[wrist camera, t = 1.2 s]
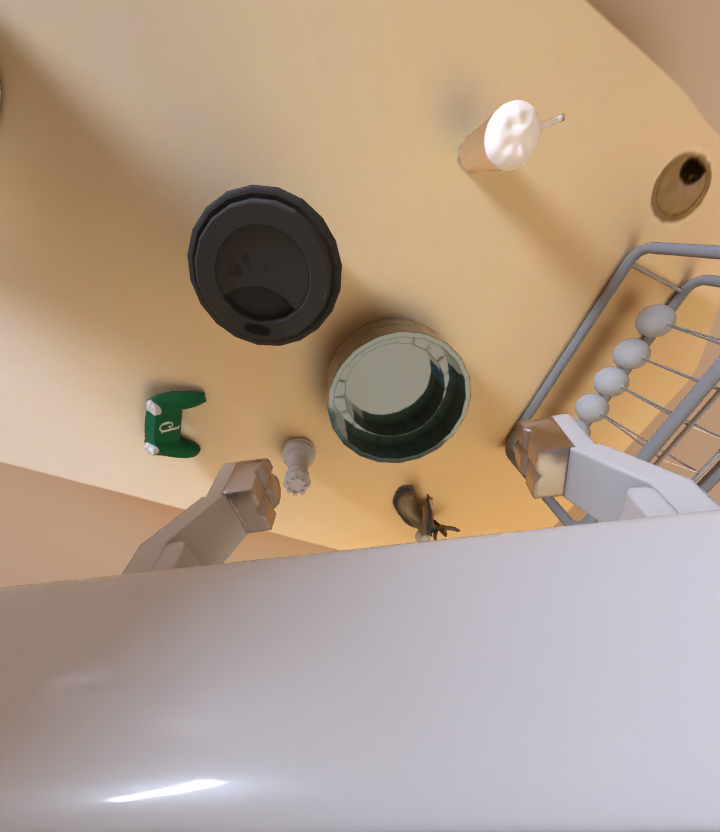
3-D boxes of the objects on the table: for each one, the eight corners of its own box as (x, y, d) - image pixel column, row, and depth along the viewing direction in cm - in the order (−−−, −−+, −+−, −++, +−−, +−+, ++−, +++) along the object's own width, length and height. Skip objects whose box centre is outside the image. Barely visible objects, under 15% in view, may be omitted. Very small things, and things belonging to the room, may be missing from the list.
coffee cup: (221, 300, 40) (175, 337, 27) (229, 181, 35) (179, 156, 22) (323, 322, 42) (327, 367, 29) (344, 214, 38) (361, 208, 24)
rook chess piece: (290, 467, 51) (287, 506, 44) (276, 443, 49) (270, 479, 42) (320, 457, 51) (321, 494, 44) (307, 431, 49) (306, 466, 42)
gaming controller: (193, 381, 46) (141, 387, 41) (209, 394, 44) (158, 402, 39) (186, 442, 50) (139, 454, 45) (202, 457, 48) (154, 470, 43)
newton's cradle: (634, 239, 42) (824, 248, 26) (696, 274, 45) (900, 301, 29) (498, 449, 54) (574, 541, 38) (554, 466, 57) (645, 559, 41)
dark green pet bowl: (321, 432, 49) (322, 460, 44) (332, 311, 42) (335, 324, 36) (436, 438, 52) (451, 465, 46) (464, 324, 44) (487, 339, 39)
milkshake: (506, 169, 37) (565, 152, 29) (456, 187, 38) (499, 175, 29) (501, 115, 35) (563, 78, 26) (447, 134, 35) (492, 104, 27)
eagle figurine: (462, 505, 57) (433, 479, 52) (459, 552, 53) (427, 529, 48) (420, 508, 61) (389, 484, 56) (414, 550, 58) (381, 530, 52)
